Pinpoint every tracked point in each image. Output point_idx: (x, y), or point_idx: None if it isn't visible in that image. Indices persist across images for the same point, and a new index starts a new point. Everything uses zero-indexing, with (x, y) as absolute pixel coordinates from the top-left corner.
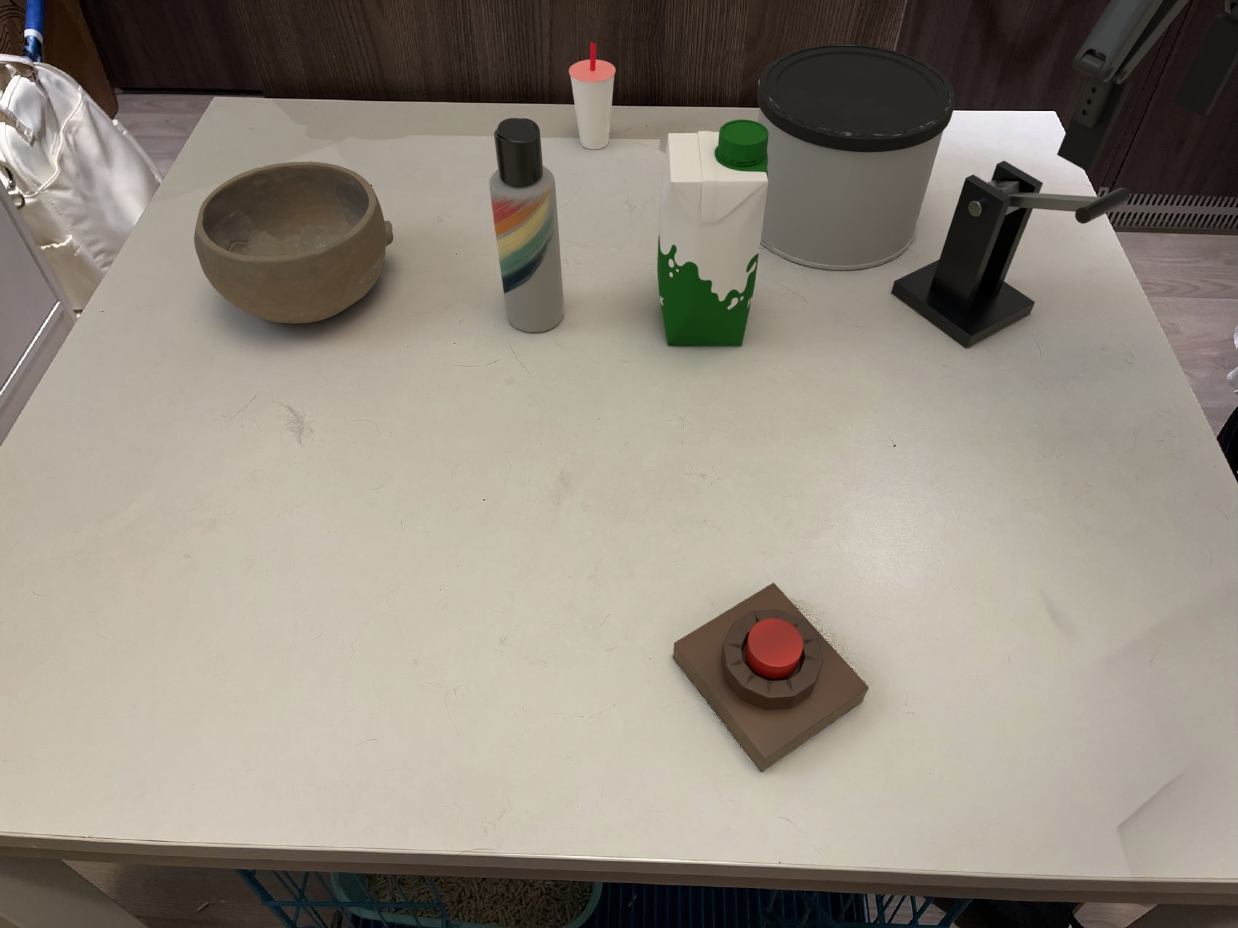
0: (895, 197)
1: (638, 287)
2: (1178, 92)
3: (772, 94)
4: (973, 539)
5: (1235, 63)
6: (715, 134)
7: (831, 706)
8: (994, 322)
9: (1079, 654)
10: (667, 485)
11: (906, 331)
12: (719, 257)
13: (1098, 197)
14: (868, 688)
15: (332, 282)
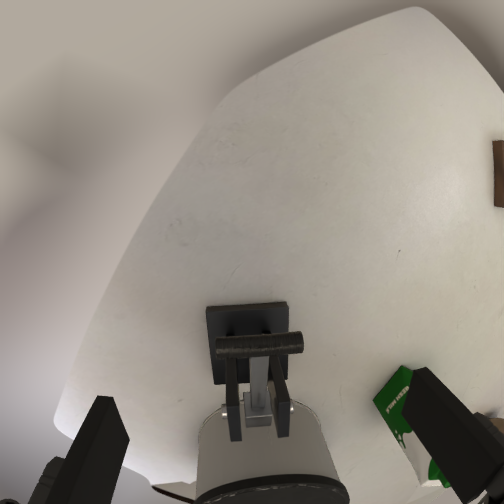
0: (277, 439)
1: None
2: (125, 450)
3: None
4: (412, 164)
5: (65, 460)
6: (439, 483)
7: None
8: (257, 310)
9: (413, 81)
10: (485, 289)
11: (309, 336)
12: None
13: (254, 358)
14: (501, 140)
15: (499, 427)
